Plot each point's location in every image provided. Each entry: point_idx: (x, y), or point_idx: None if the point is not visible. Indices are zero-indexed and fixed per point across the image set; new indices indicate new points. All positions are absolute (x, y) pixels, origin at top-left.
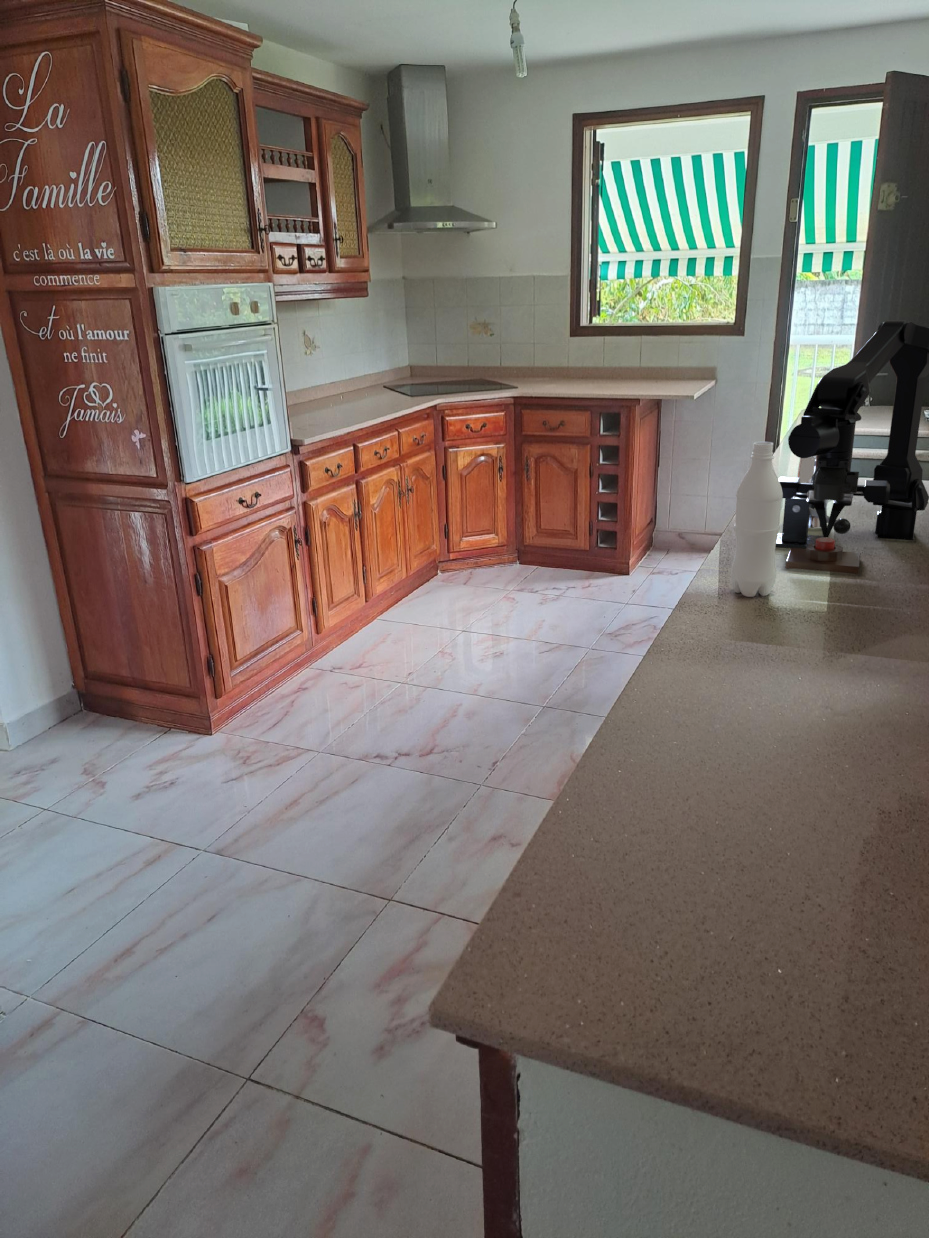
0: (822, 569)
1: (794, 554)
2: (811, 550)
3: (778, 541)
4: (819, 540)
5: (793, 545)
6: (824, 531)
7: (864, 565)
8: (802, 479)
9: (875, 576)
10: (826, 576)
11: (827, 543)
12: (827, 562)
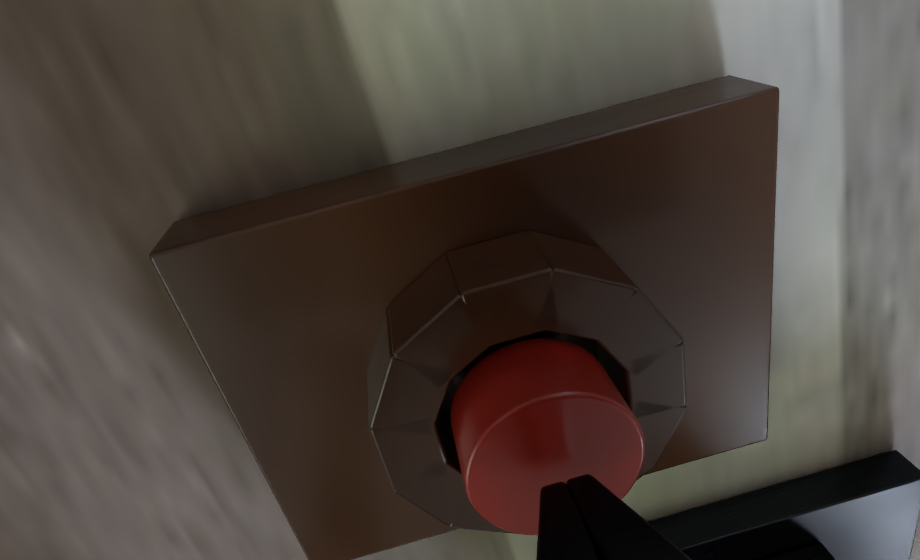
0: (453, 156)
1: (731, 310)
2: (626, 283)
3: (838, 536)
4: (607, 428)
5: (746, 525)
6: (607, 518)
7: (256, 471)
8: None
9: (57, 287)
10: (390, 81)
11: (513, 400)
12: (441, 238)
